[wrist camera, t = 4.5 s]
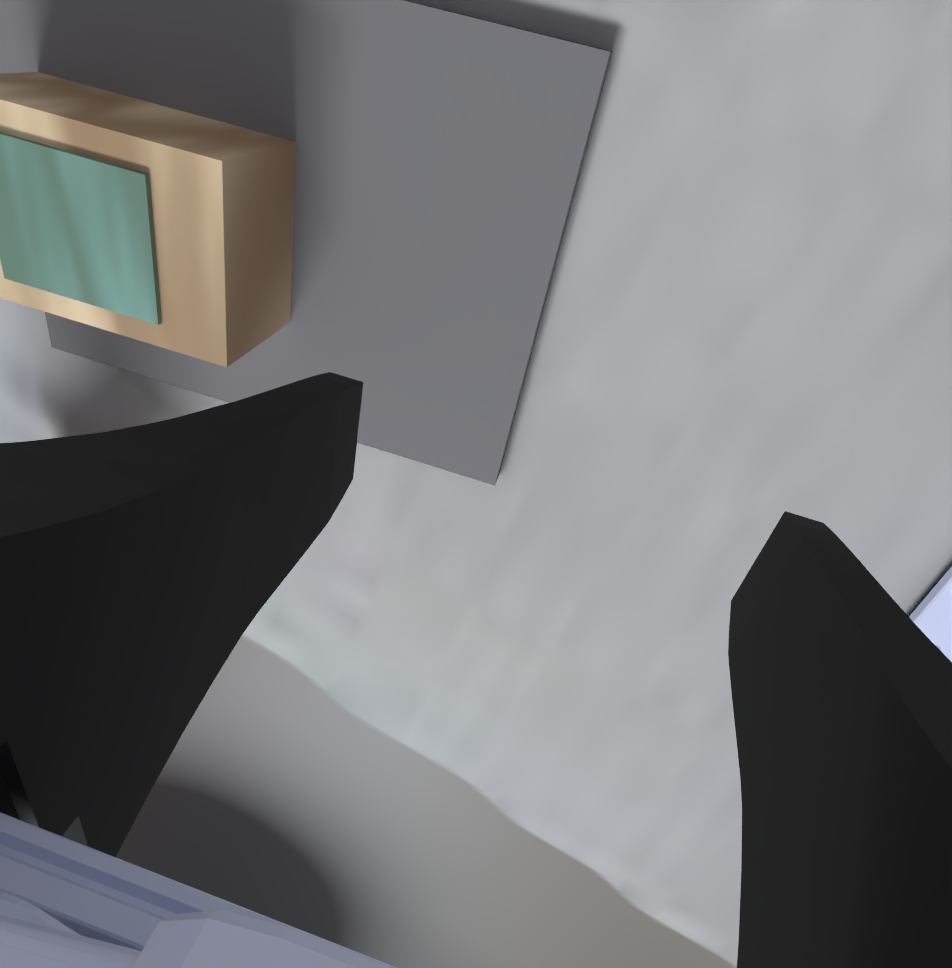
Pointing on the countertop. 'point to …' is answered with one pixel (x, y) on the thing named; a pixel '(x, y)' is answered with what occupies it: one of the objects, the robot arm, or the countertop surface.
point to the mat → (363, 191)
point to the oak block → (144, 218)
